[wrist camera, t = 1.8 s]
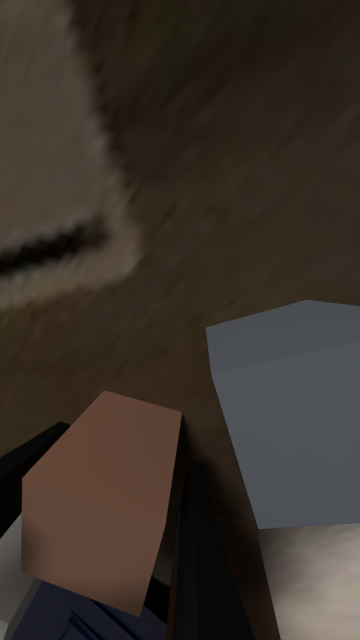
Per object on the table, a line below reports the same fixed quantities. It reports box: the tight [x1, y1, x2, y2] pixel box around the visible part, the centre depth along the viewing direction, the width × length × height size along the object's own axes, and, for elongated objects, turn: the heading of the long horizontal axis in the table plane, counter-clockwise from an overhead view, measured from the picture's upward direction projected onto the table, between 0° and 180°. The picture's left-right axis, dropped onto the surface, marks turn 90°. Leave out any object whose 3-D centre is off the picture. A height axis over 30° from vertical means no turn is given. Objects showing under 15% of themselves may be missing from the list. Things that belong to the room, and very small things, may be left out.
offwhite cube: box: [0, 513, 43, 640], centre depth 10 cm, size 5×5×5 cm
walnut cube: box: [165, 511, 281, 640], centre depth 9 cm, size 5×5×5 cm
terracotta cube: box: [21, 390, 182, 617], centre depth 8 cm, size 5×5×5 cm
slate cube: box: [206, 300, 360, 529], centre depth 6 cm, size 5×5×5 cm
